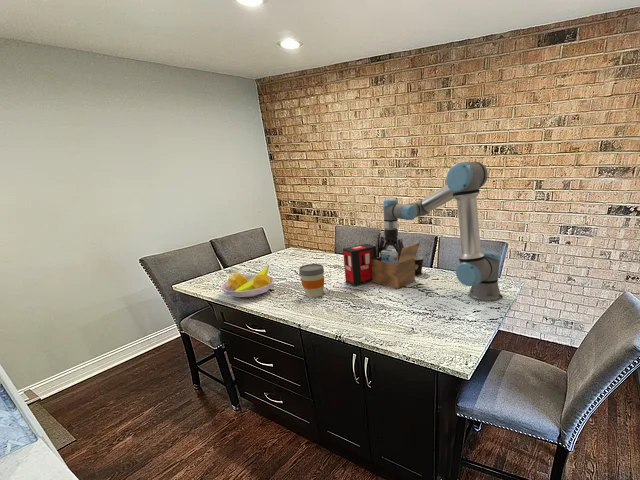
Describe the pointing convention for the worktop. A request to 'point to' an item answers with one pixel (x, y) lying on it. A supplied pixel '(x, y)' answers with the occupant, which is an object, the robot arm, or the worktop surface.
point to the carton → (393, 273)
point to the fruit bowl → (248, 284)
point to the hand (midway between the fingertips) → (392, 266)
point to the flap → (408, 253)
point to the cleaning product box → (359, 263)
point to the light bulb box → (389, 256)
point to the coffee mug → (418, 265)
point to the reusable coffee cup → (312, 279)
